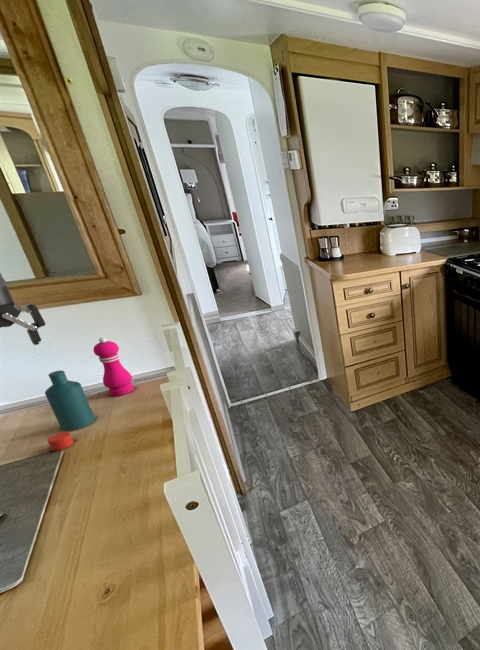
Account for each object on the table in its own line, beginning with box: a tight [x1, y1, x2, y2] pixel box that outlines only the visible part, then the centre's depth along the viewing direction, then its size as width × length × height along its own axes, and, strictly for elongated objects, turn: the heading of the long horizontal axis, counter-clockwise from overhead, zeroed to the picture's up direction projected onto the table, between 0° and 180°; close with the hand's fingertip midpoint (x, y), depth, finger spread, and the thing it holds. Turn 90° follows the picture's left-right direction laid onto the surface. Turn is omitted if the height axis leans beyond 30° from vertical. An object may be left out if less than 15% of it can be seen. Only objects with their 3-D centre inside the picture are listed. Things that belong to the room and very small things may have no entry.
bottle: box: [44, 370, 96, 432], centre depth 108 cm, size 7×7×17 cm
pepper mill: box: [93, 337, 135, 397], centre depth 125 cm, size 7×7×20 cm
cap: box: [46, 431, 74, 451], centre depth 102 cm, size 4×4×3 cm
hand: (11, 350), depth 93 cm, fingers open, 8 cm apart
